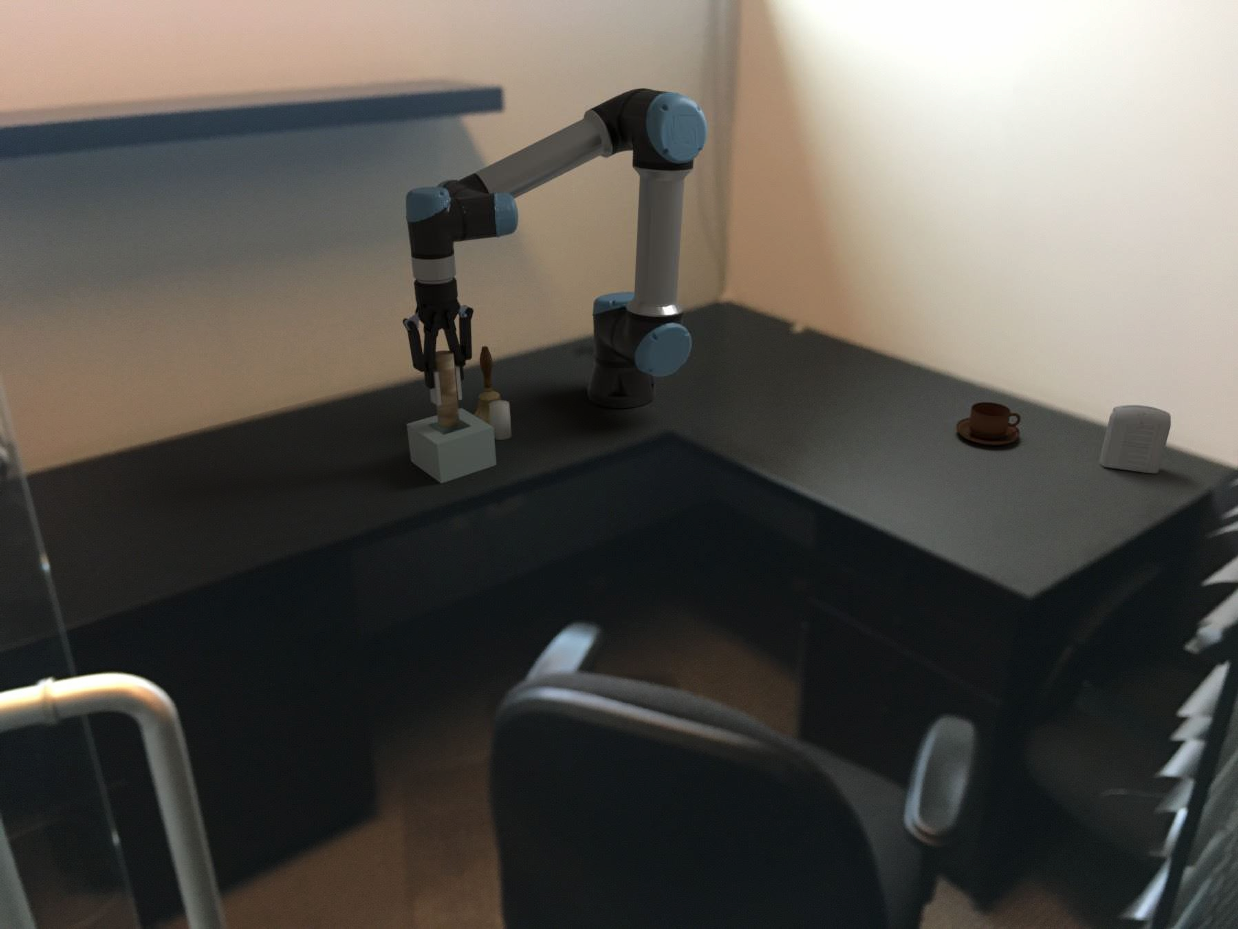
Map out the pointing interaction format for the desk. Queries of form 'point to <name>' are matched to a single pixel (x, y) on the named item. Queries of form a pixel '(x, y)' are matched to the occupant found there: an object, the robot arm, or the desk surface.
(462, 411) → the hole block
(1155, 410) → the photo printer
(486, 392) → the hand bell
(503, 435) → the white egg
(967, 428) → the cup and saucer
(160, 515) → the desk surface
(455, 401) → the long pin
